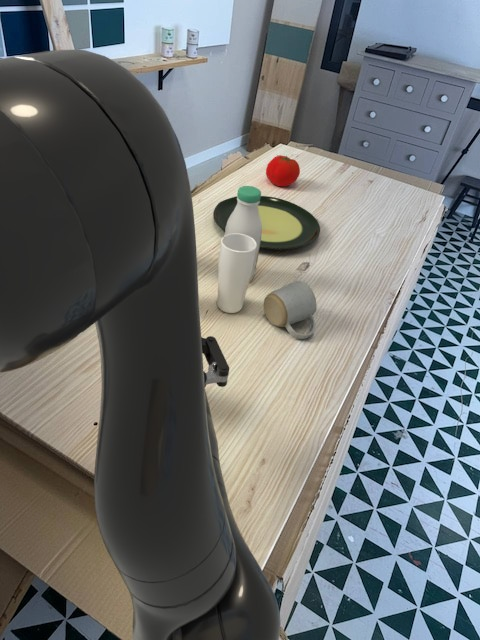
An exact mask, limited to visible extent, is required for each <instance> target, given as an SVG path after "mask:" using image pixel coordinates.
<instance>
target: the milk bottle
mask: <svg viewBox="0 0 480 640" xmlns="http://www.w3.org/2000/svg"><path fill="white" fill-rule="evenodd" d="M236 196H238V197H237V201H238V202H237V205H236V207H235V209H234V211H233V212H232V214H231V215H230V217H229V219H228V221H227V224H226V229H225V232H224V235H223V237H224V236H225V235H227V234H232V233H239V234H244V235H247V236H250V237H251V238H253V239H254V240H255V241H256V243H257V249H256V256H255V262H254V266H253V270H252V273H251V277H250V280H249V282H251V281H252V280H253V279H254V278H255V274H256V269H257V264H258V259H259V254H260V253H259V252H260V248H261V247H260V242H261V235H262V223H261V219H260V216H259V211H258V204H259V203H260V198H261V196H262V191H261V190H260V189H259V188H257V187H255V186H251V185H242V186H240V187H239V188H238V189H237V195H236Z"/></svg>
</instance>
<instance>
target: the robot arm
mask: <svg viewBox="0 0 480 640" xmlns="http://www.w3.org/2000/svg"><path fill="white" fill-rule="evenodd" d="M187 168H188V167H187V164H186V161H185V156H184V154H183V151H182V147H181V144H180V141H179V138H178V136H177V133H176V132H175V130H174V128H173V126H172V124H171V121H170V119H169V118H168V115H167V113H166V111H165V110H164V108H163V106H161V105H160V103H159V101H158V100H157V98H156V97H155V96H154V94H153V93H152V91H150V89H149V88H148V87H147V86H146V85H145V84H144V83H143V82H142V81H141V80H140V79H139V78H138V77H137V76H136V75H135V74H134V73H132V71H131V70H130V69H128V68H126V67H125V66H123V65H122V64H120V63H118V62H116V61H115V60H113V59H111V58H109V57H107V56H105V55H102V54H99V53H96V52H92V51H89V50H85V49H55V50H46V51H39V52H32V53H25V54H20V55H19V54H18V55H13V56H8V57H4V58H1V59H0V374H1V373H7V372H12V371H15V370H19V369H22V368H25V367H27V366H30V365H33V364H34V363H36V362H39V361H41V360H43V359H44V358H46V357H48V356H50V355H51V354H53V353H55V352H57V351H59V350H60V349H61V348H63V347H65V346H66V345H68V344H69V343H71V342H72V341H74V339H75V338H78V336H79V335H80V334H81V333H83V332H85V331H86V330H87V329H89V328H90V327H92V326H94V325H95V329H96V334H97V341H98V345H99V355H100V375H101V391H100V393H101V394H100V407H99V408H100V409H99V421H98V428H97V429H98V431H97V440H96V450H95V461H94V473H93V474H94V475H93V501H94V510H95V516H96V522H97V527H98V530H99V531H98V532H99V534H100V537H101V539H102V542H103V544H104V546H105V549H106V551H107V553H108V555H109V557H110V558H111V560H112V563H113V565H114V566H115V568H116V570H117V571H118V574H119V575H120V577H121V579H122V581H123V584H125V586H126V588H127V590H128V592H129V595H130V599H131V603H132V640H279V639H280V636H281V635H280V634H281V628H282V627H281V612H280V607H279V604H278V601H277V597H276V595H275V592H274V590H273V588H272V586H271V584H270V582H269V580H268V579H267V576H266V574H265V573H264V571H263V569H262V567H261V566H260V564H259V563H258V561H257V559H256V557H255V556H254V554H253V553H252V551H251V549H250V547H249V545H248V544H247V541H246V540H245V538H244V536H243V534H242V532H241V530H240V528H239V526H238V523H237V520H236V519H235V516H234V513H233V510H232V506H231V504H230V500H229V497H228V493H227V488H226V484H225V481H224V476H223V471H222V467H221V462H220V452H219V443H218V438H217V434H216V429H215V424H214V421H213V416H212V412H211V409H210V404H209V400H208V395H207V391H206V387H207V385H211V384H216V385H217V386H218V387H220V388H225V387H226V386H227V385H228V380H229V375H230V374H229V373H230V366H229V364H228V362H227V359H226V358H225V355H224V353H223V351H222V349H221V346H220V345H219V343H218V340H217V338H216V337H214V336H212V335H209V336H206V338H205V337H202V327H201V315H200V314H201V313H200V299H199V295H200V294H199V277H198V274H199V273H198V255H197V254H198V253H197V238H196V237H197V236H196V224H195V214H194V203H193V196H192V188H191V184H190V179H189V174H188V169H187ZM204 358H205V360H206V362H207V365H208V369H207V372H205V370H204Z"/></svg>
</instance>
